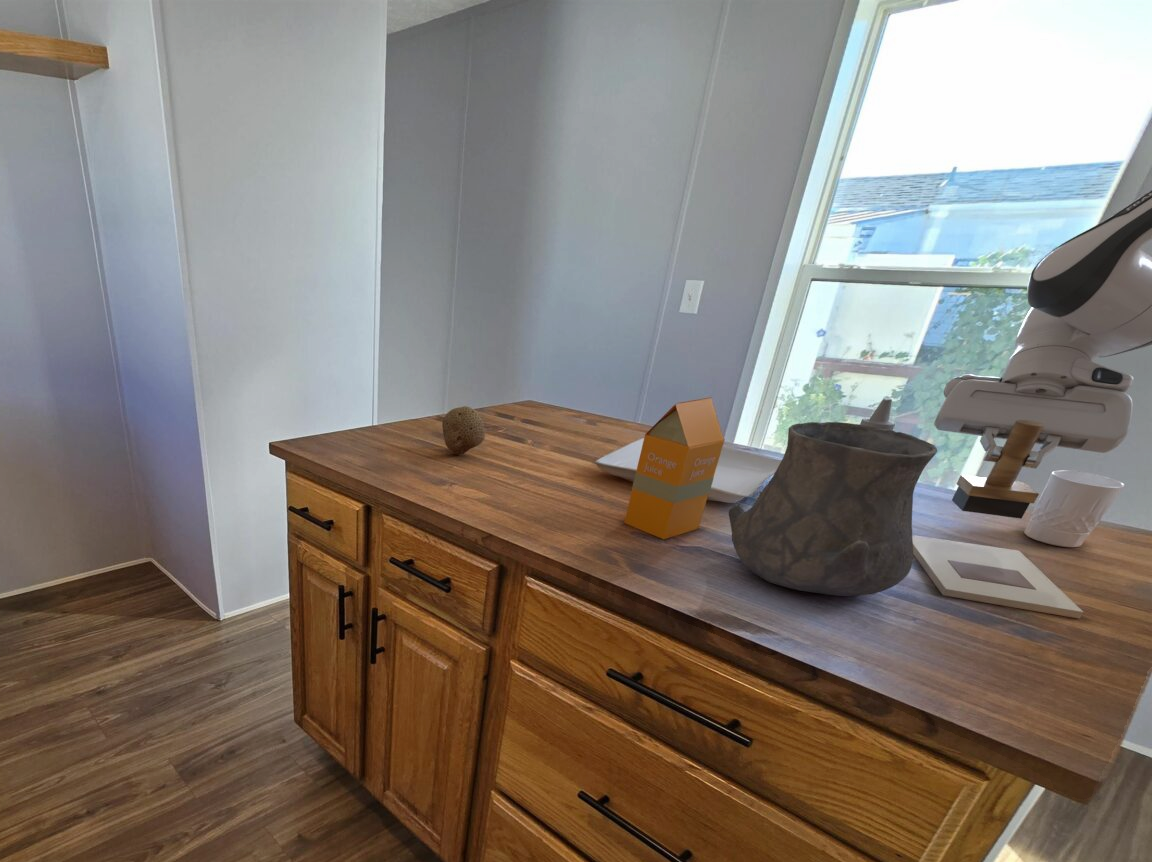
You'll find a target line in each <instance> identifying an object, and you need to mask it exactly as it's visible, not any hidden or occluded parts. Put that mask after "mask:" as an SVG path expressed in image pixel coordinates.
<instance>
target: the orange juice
mask: <svg viewBox="0 0 1152 862" xmlns="http://www.w3.org/2000/svg"><path fill="white" fill-rule="evenodd" d="M722 431H723V430H722V428H721V425H720V422H719V418H718V415H717V412H716V409H715V405H714V402H713V397H712V396H711V397H706V398H699V399H693V400H687V401H680V402H676V403H675V404H673V406H672V407H670V409H669V410H668V411H666V413H665V414H664V415H663V416H662V417H661V418H660V419H659V420H658V421H656V423H654V425H653V426H652V427H651V428H650V429H649V430H648V431H647V432H646V433H644V437H643V438H644V441H643V445H642V449H641V454H640V458H639V462H638V466H637V471H636V473H635V478H634V482H632V487H631V493H630V496H629V500H628V504H627V509H626V514H625V518H624V521H623V523H624V524H626V525H628V526H630V527H633V528H635V529H638V530H640V531H643V532H645V533H647V534H650V535H653V536H655V537H657V538H659V539H662V540H666V539H670V538H673V537H676V536H679V535H682V534H686V533H689V532H692V531H695V530H698V529H699V528H700V523H701V521H702V517H703V514H704V511H705V508H706V504H707V501H708V500H707V498H708V494H709V492H710V489H711V485H712V482H713V479H714V474H715V471H716V467H717V464H718V461H719V457H720V454H721V450H722V447H724V444H725V440H726V439H725V438H724V434H723V432H722Z"/></svg>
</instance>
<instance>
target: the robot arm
mask: <svg viewBox="0 0 1152 862" xmlns="http://www.w3.org/2000/svg"><path fill="white" fill-rule="evenodd" d="M1150 241H1152V189H1150V190H1149V191H1148V192H1146V193H1145V194H1143V195H1142V196H1140V197H1139V198H1137V199H1135V200H1133V201H1132V202H1131V203H1130V204H1128V205H1126V206H1125V207H1123V208H1121V209H1120V210H1118V211H1117V212H1116V213H1113V215H1111V216H1109V217H1108V218H1106V219H1105V220H1103V221H1102V222H1099V223H1098V224H1096V225H1094V226H1092V227H1090V228H1089V229H1086V230H1085V231H1083V232H1081V233H1079V234H1077V235H1076V236H1074V237H1072V238H1070V239H1068V240H1066V241H1065V242H1063V243H1061V244H1059V245H1058V246H1056V247H1055V248H1054V249H1052V250H1051V251H1050V252H1048V253H1047V254H1046V255H1045V256H1044V257H1042V259H1040V261H1038V262H1037V264H1036V265H1035V266H1034V268H1033V270H1032V271H1031V273H1030V276H1029V279H1028V283H1027V292H1026V296H1027V304H1028V306H1029V307H1031V308H1030V309H1029V310H1028V312H1027V314H1026V316H1025V317H1024V320H1023V321H1022V323H1021V325H1020V328H1019V330H1018V333H1017V336H1016V338H1015V340H1014V353H1012V355H1011V356H1010V357H1009V359H1008V361H1007V362H1006V363H1005V367H1004V370H1003V373H1002V375H1001V377H998V376H985V375H984V376H981V375H975V374H963V375H962V376H956V377H953V378H951V379H950V380H948V381H947V382H946V384H945V387H944V389H943V396H944V398H945V400H944V401H943V403H942V405H941V407H940V408H939V410H938V413H937V414H936V416H935V418H934V420H933V425H934V427H935V428H936V430H938V431H942V432H949V433H957V434H965V435H971V436H979V437H980V439H979V442H980V444H981V447H982V448H983V451H984V452H985V453H984V456H983V458H982V461H983V462H984V461H985V462H990V463H995V462H996V461H997V460H998V459H999V457H1000V455H1001V451H1002V449H1003V446H1001V445H1000V446H999V445H997V444H996V442H995V439H999V440H1007V438H1008V436H1009V434H1010V432H1011V430H1012V428H1013V426H1014V424H1015V422H1016V421H1017V420H1027V421H1034V422H1039V423H1042V424H1044V427H1043V429H1042V431H1041V433H1040V435H1039V437H1038V439H1037V440H1036V442H1035V445H1040V447H1039V450H1038V451H1036V450H1035V451H1034V450H1031V452H1030V454H1029V455H1028V457H1027V459H1026V461H1025V463H1024V465H1023V467H1022V468H1027V469H1035V470H1036V469H1037V468H1038V467H1039V466H1040V464H1041V462H1042V460H1043V458H1045V457H1046V456H1047V455H1049V454H1050V453H1052V452H1054V450H1055V448H1057V447H1058V448H1066V449H1071V450H1072V449H1073V450H1080V451H1088V452H1094V453H1101V454H1104V453H1105V454H1106V453H1108V452H1111V451H1112V450H1115V449H1116V448H1117V447H1119V446H1120V445H1121V444H1122V442H1123V441H1124V440H1125V439H1126V437H1127V436H1128V434H1129V431H1130V427H1131V423H1132V419H1133V418H1132V417H1133V411H1134V410H1133V409H1134V403H1133V399H1132V397H1131V396H1130V395H1129V394H1127V393H1128V392H1129V390H1130V389H1131V388H1132V385H1133V383H1134V380H1135V379H1134V376H1133V375H1131V374H1129V373H1126V372H1123V371H1119V370H1115V369H1113V368H1110V367H1106V366H1105V365H1101V364H1099V363H1096V362H1095V361H1094V362H1093V360H1094V359H1095V358H1106V357H1111V356H1112V357H1113V356H1116V355H1121V354H1123V353H1128V352H1132V351H1135V350H1139V349H1143V348H1146V347H1148V346H1151V345H1152V256H1151V255H1149V254H1148V253H1146V252H1145V251H1143V250H1141V248H1142V247H1143V246H1145V244H1147V243H1149V242H1150Z"/></svg>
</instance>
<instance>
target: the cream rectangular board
mask: <svg viewBox="0 0 1152 862" xmlns="http://www.w3.org/2000/svg"><path fill="white" fill-rule="evenodd" d="M912 540H913V554H914V557H915V559H916V560H917V561H918V563H919V564H920V566H921V567H922V568H923V570H924V571H925V573H926V574H927V576H928V577H929V578H930V580H931V581H932V583H933V584H934V585H935V587H936V588H937V590H938V591H939V593H940V594H941V595H942V596H944V597H951V598H957V599H961V600H962V599H963V600H969V601H975V602H981V603H986V604H991V605H998V606H1003V607H1009V608H1015V609H1021V610H1027V611H1031V612H1032V611H1033V612H1038V613H1044V614H1050V615H1056V616H1061V617H1066V618H1067V617H1068V618H1073V619H1081V617H1082V616H1083V614H1084V610H1082V609H1081V608H1080V607H1079V606H1078V605H1077V604H1076V603H1075V602H1074V601H1073V600H1072V599H1071V598H1069V596H1068V595H1066V594H1065V593H1064V591H1062V590H1061V589H1060V588H1059V587H1058V586H1057V585H1056V584H1055V583H1054V582H1052V580H1051V579H1049V578H1048V577H1047V575H1045V573H1044V572H1042V571H1041V570H1040V569H1039V568H1038V567H1037V566H1036V565H1035V564H1034V563H1033V562H1032V561H1031V560H1029V558H1027V557H1026V556H1025V555H1024V553H1022V552H1021V551H1020V550H1018V549H1011V548H1004V547H996V546H990V545H983V544H977V543H970V542H964V541H956V540H951V539H950V540H949V539H943V538H942V539H941V538H936V537H929V536H922V535H916V534H912Z"/></svg>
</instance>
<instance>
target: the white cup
mask: <svg viewBox="0 0 1152 862" xmlns="http://www.w3.org/2000/svg"><path fill="white" fill-rule="evenodd" d="M1125 486H1126V485H1125V484H1124V483H1123V482H1122V481H1120V480H1118V479H1115V478H1112V477H1109V476H1104V475H1100V474H1096V473H1091V472H1086V471H1077V470H1067V469H1066V470H1065V469H1062V470H1061V469H1060V470H1059V469H1058V470H1054V471H1052V472H1051V473H1050V476H1049V477H1048V480H1047V482H1046V484H1045V485H1044V488H1043V490H1042V492H1041V495H1040V496H1039V498H1038V500H1037V501H1036V504H1035V506H1034V509H1033V511H1032V513H1031V514H1030V515H1031V517H1030V520H1029V522H1028V524H1027V525H1026V527H1025V529H1024V532H1023V533H1024V534H1025V535H1026V537H1028V538H1031V539H1033V540H1035V541H1037V542H1040V543H1044V544H1048V545H1052V546H1057V547H1065V548H1079V547H1081V546H1082V545H1083V543H1084V542H1085V541H1086V539H1087V537H1088V536H1089V535H1090V534H1091V532H1093V531H1094V530H1095V528H1096V526H1098V524H1099V523H1100V522H1101V520H1102V518H1103V517H1104V516H1105V515H1106V514H1107V513H1108V510H1109V509H1110V508H1111V506H1112V505H1113V503H1114V502H1115V500H1116V499H1117V498H1118V496H1119V495H1120V494H1121V492H1122V491H1123V489H1124V488H1125Z"/></svg>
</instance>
